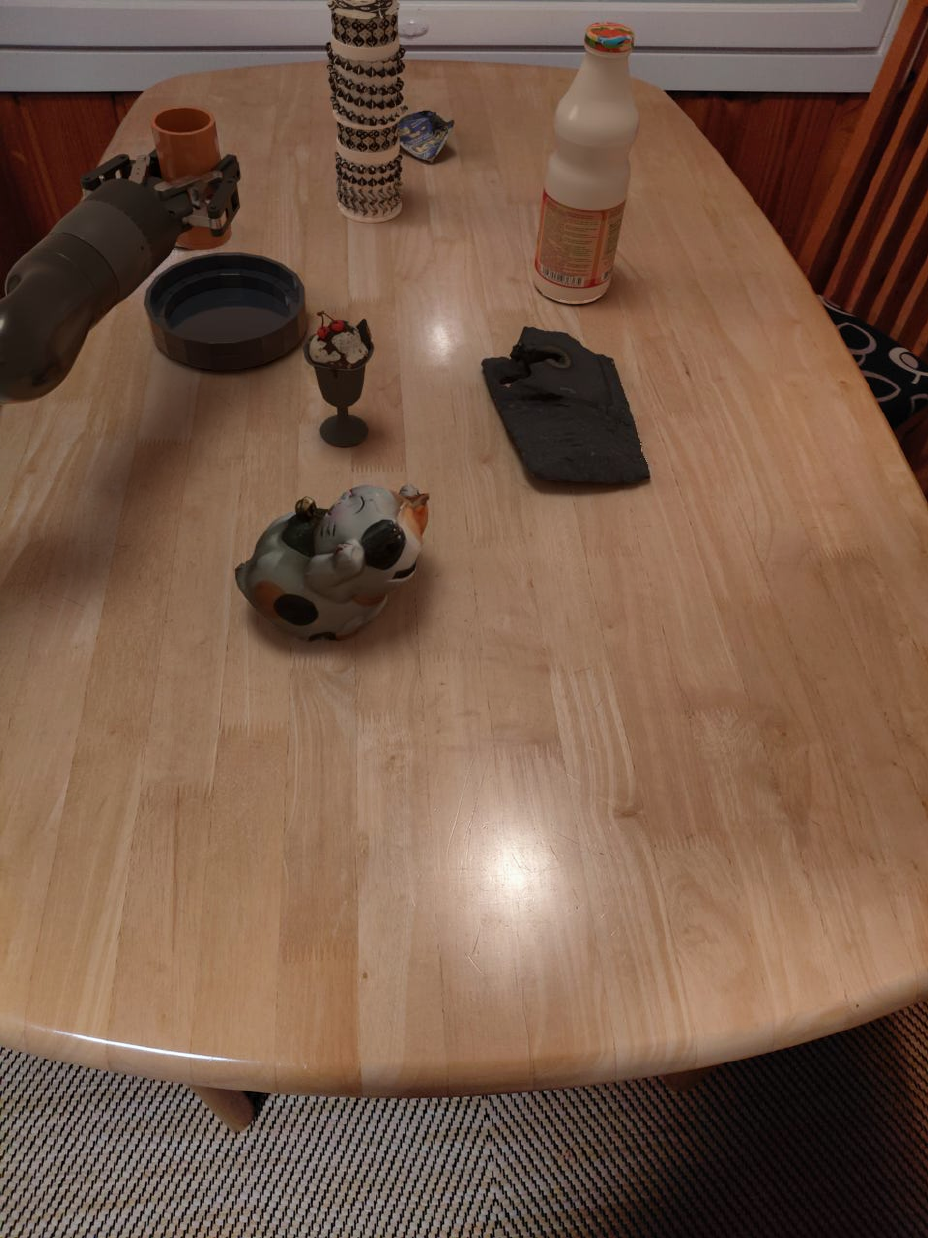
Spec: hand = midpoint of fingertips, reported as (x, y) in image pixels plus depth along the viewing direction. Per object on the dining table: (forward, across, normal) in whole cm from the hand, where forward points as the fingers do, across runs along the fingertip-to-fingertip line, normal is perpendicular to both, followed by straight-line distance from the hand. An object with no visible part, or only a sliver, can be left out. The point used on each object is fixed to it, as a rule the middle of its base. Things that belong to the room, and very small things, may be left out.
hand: (203, 157), depth 89 cm
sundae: (-10, -18, +20) cm, 29 cm away
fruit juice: (+25, -33, +20) cm, 46 cm away
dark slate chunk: (0, -38, +20) cm, 43 cm away
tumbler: (-2, 0, +6) cm, 7 cm away
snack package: (+51, -3, +20) cm, 55 cm away
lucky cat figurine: (-30, -25, +20) cm, 44 cm away
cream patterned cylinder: (+32, -4, +20) cm, 38 cm away
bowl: (+1, +1, +20) cm, 20 cm away
